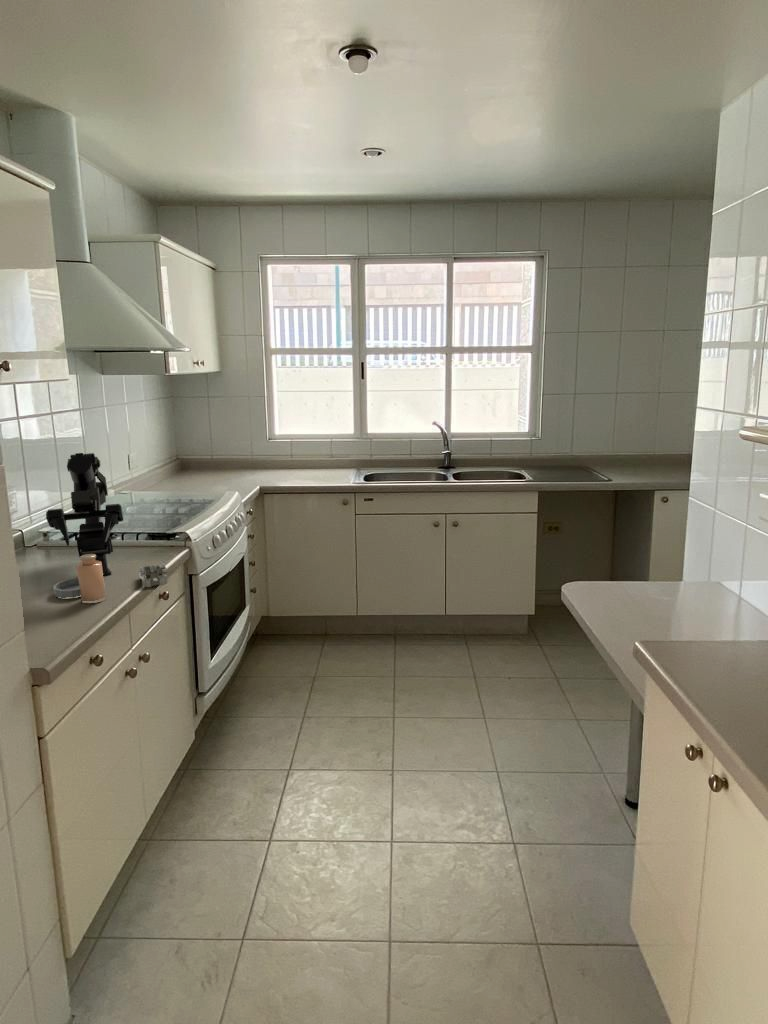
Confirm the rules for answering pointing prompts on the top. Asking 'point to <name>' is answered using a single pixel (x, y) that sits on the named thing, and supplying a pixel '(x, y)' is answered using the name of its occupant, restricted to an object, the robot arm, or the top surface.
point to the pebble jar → (90, 578)
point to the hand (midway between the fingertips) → (86, 543)
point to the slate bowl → (67, 588)
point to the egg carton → (153, 575)
